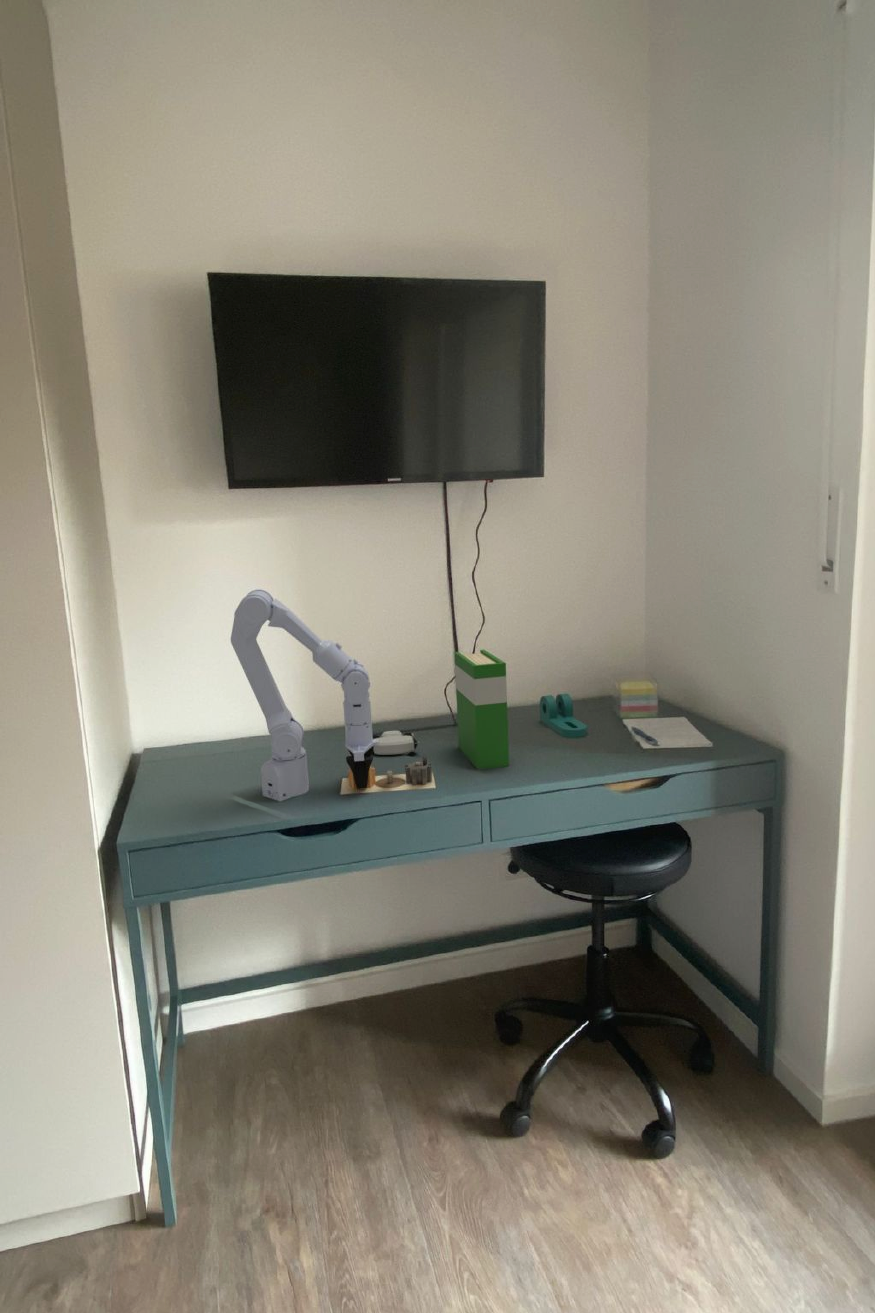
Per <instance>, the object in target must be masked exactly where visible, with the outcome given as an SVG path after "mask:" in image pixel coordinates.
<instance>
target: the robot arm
mask: <svg viewBox="0 0 875 1313" xmlns="http://www.w3.org/2000/svg"><path fill="white" fill-rule="evenodd" d="M233 614H234V618H233V623H232V630H231V635H230V644H231V647H233V651H234V652H235V654H236V656H237V659H238V661H239V663H240V665H241V667H242V670H243V672H244V674H245V676H246V678H247V680H248V683H249V685H250V687H251V690H252V692H253V693H254V696H255V698H256V701H257V703H258V705H259V707H260V710H261V712H262V714H263V716H264V718H265V722H266V726H267V731H268V733H269V735H270V748H271V751H272V752H271V757H270V759H269V760H268V761H266V762H264V763H263V764H262V765H261V768H260V778H261V779H260V780H261V791H262V792H261V793H262V796H263V797H266V798H269V799H272V800H273V801H274V800H275V801H278V802H283V801H285V800H288V799H291V798H293V797H294V798H295V797H298V796H301V795H305V794H306V793H307V792H309V790H310V782H309V773H308V762H307V760H308V759H307V750H306V749H305V748H304V747H303V746H302V745H303V744H302V742H303V739H304V735H305V732H304V728H303V726H302V724H301V723H300V722H299V721H298V720H296V719H295V718H294V716H293V714H292V712H291V711H290V709H289V708H288V707H287V705H286V703H285V700H284V699H283V697H282V694H281V692H280V690H279V687H278V685H277V683H276V681H275V679H274V678H275V677H274V676H273V674H272V672H271V670H270V667H269V665H268V663H267V661H266V659H265V655H263V651H262V650H261V648H260V645H259V643H258V641H257V638H258V636H259V633H260V632H261V629H262V627H263V626H264V625H265V623H266V622H267V621H269V622H268V624H267V627H271V628H272V627H273V628H279V629H280V628H281V629H283V630H284V631H286V632H287V633H288V634H290V636H292V637H293V638H294V639H295V640H297V641H298V642H299V643H301V645H303V646H304V647H305V648H306V649H308V650H309V652H311V653H312V662H313V663H315V665H317V667H319V668H320V669H322V671H323V672H325V673H326V674H327V675H328V676H330V677H331V679H333V680H334V681H336V682H338V683H339V682H340V687H341V689H342V692H343V697H344V698H343V699H344V700H343V701H342V702H343V716H344V730H345V731H344V732H345V743H344V745H345V748H346V749H347V750H348V752H349V753H350V754H349V755H347V756H346V758H345V761H346V763H347V765H348V766H349V768H350V769H351V770H352V773H353V776H354V780H355V784H356V787H357V789H361V788H367V785H368V775H369V769H370V766H372V763H373V760H374V756H373V755H372V753H373V752H372V750H373V748H374V745H378V743H379V742H378V740H377V739H375V740H374V739H373V735H374V734H373V719H372V707H371V706H372V705H371V699H370V690H369V689H370V687H371V686H370V685H371V682H370V678H369V677H370V676H369V673H368V671H367V669H366V668H365V667H364V665H363V664H361V663H359V661H358V660H357V659H356V658H354V659H353V658H352V657H350V655H348V654H347V653H346V652H345V651H344V650H342V645H341V644H340V642H337V641H336V642H334V641H333V640H322V639H321V638H320V637H319V636H318V635H317V634H316V633H315V632H314V631H313V630H312V629H311V628H310V627H308V625H306V623H305V622H303V621H302V620H301V618H299V617H298V615H296V614H295V613H294V612H293V611H292V610H291V609H290V608H289V607H287V606H286V605H285V604H284V603H282V601H280V600H279V599H277V598H273V596H272V595H271V594H270V593H269V591H266V590H265V589H254V590H252V591H250V592H248V593H247V594H246V595H245V596H244V597H243V598H242V599H241V601H240V602H239V604H238V605H237V608H235V610H234V613H233Z"/></svg>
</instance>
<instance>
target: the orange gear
mask: <svg viewBox="0 0 875 1313" xmlns="http://www.w3.org/2000/svg"><path fill="white" fill-rule="evenodd" d="M347 776H348V777H347V778H349V786H351V788H353V789H355V788H357V787H356V784H355V780H354V776H353V773H352V770H351V768H350V769H347ZM375 776H376V770H375V767H373V765H371V766H370V769H369V775H368V785H367V787H370V788H371V787H373V784H376V779H375ZM361 789H364V788H361Z"/></svg>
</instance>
